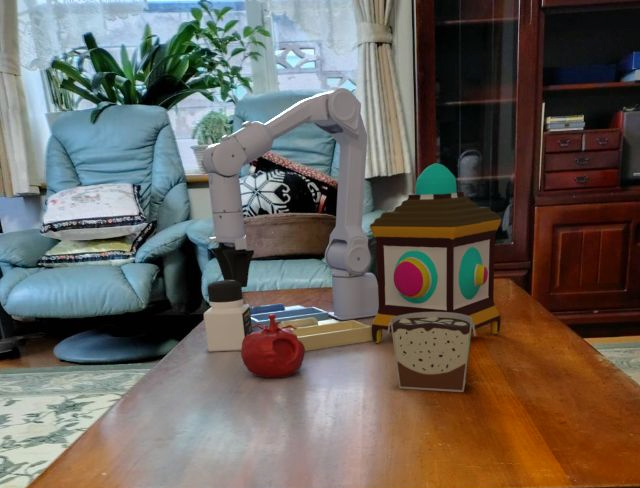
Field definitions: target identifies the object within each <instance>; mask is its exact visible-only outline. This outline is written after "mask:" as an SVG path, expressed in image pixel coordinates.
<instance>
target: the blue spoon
mask: <svg viewBox="0 0 640 488" xmlns="http://www.w3.org/2000/svg"><path fill="white" fill-rule="evenodd" d="M301 308H306V307H305V306H303V305H292V306H285V304H283V303H272V304H266V305H265V304H264V305H257V306H252V307H251V306H250V314H251V315H255V314H262V313H270V312H278V311H285V310H293V309H301Z"/></svg>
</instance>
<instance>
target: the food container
mask: <svg viewBox="0 0 640 488" xmlns="http://www.w3.org/2000/svg"><path fill="white" fill-rule="evenodd" d="M390 333H391V336H392V344H393V351H394V352H393V353H394V359H395V366H396V367H395V368H396V377H397V383H398V389H405V390H406V389H407V390H423V391H437V392H438V391H440V392H453V393H454V392H456V393H464V392H465V388H466V380H467V375H468V363H469V358H470V357H469V356H470V347H471V340H472V333H473V337H476V336H477V332H476V329H475V326H474V323H473V322H472V318H471V317H469V316H467V315H464V314H459V313H451V312H419V313H410V314H404V315H399V316H396V317H394V318H392V319H391V323H389V327H388V330H387V334H390Z"/></svg>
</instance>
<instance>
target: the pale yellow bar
mask: <svg viewBox="0 0 640 488" xmlns="http://www.w3.org/2000/svg"><path fill="white" fill-rule="evenodd" d="M336 322H340V320H336V319H335V318H331V319H330V318H329V320H323V321H317V319H316V318H313V317H312V318H305V319H297V320H290V321H283V322H281V323H279V325H278V328H281V327H286V326H288V325H292V326H293V327H295V328H301V327H308V326H315V325H322V324H329V323H336ZM288 329H293V328H292V327H289V328H288Z"/></svg>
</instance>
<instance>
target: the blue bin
mask: <svg viewBox="0 0 640 488" xmlns="http://www.w3.org/2000/svg"><path fill="white" fill-rule="evenodd" d="M328 313H329V311H326V310H324V309H320V308H318V307H316V306H310V307H305V308H301V309H293V310H285V311H278V312H270V313H262V314H255V315H251V324H252V327H253V326H255V325H254V324H262V325H265V326H268V327H269V325H270V319H269V317H268V316H269V315H270V314H275V316H276V318H275V323H276V322H277V321H278V322H280V321H281V322H283V321H290V320H297V319H305V318H312V317H313V318H316V319H317V321H323V320H330V317H329V315H328ZM278 325H279V324H278ZM259 326H260V327H262V328H264V327H263V326H261V325H259ZM277 327H278V326H277ZM260 330H262V329H260V328H259V327H255V328H253V329H252V333H253V332H256V331H260Z"/></svg>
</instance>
